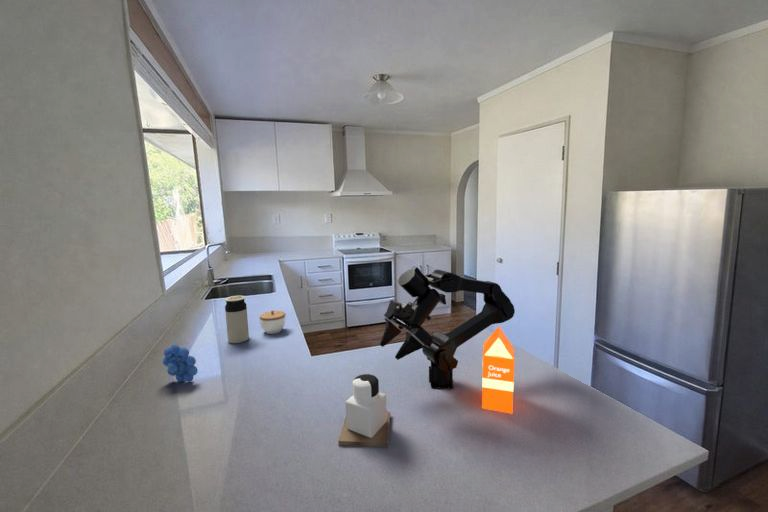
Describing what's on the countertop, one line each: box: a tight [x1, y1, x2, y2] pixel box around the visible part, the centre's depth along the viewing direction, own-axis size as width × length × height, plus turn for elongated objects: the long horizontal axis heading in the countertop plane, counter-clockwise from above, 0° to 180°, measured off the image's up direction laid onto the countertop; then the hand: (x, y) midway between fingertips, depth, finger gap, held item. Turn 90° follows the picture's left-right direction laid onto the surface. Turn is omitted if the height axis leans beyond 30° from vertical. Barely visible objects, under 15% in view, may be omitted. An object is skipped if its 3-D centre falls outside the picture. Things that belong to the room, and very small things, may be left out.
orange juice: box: [481, 325, 515, 414], centre depth 87 cm, size 8×9×20 cm
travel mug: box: [224, 295, 250, 344], centre depth 134 cm, size 8×8×18 cm
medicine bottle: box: [345, 373, 388, 438], centre depth 77 cm, size 7×7×12 cm
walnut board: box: [338, 411, 391, 448], centre depth 78 cm, size 11×11×1 cm
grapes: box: [162, 344, 198, 383], centre depth 101 cm, size 12×7×12 cm, turn 79°
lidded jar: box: [259, 310, 286, 335], centre depth 144 cm, size 11×11×9 cm
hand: (388, 352), depth 89 cm, fingers open, 9 cm apart
